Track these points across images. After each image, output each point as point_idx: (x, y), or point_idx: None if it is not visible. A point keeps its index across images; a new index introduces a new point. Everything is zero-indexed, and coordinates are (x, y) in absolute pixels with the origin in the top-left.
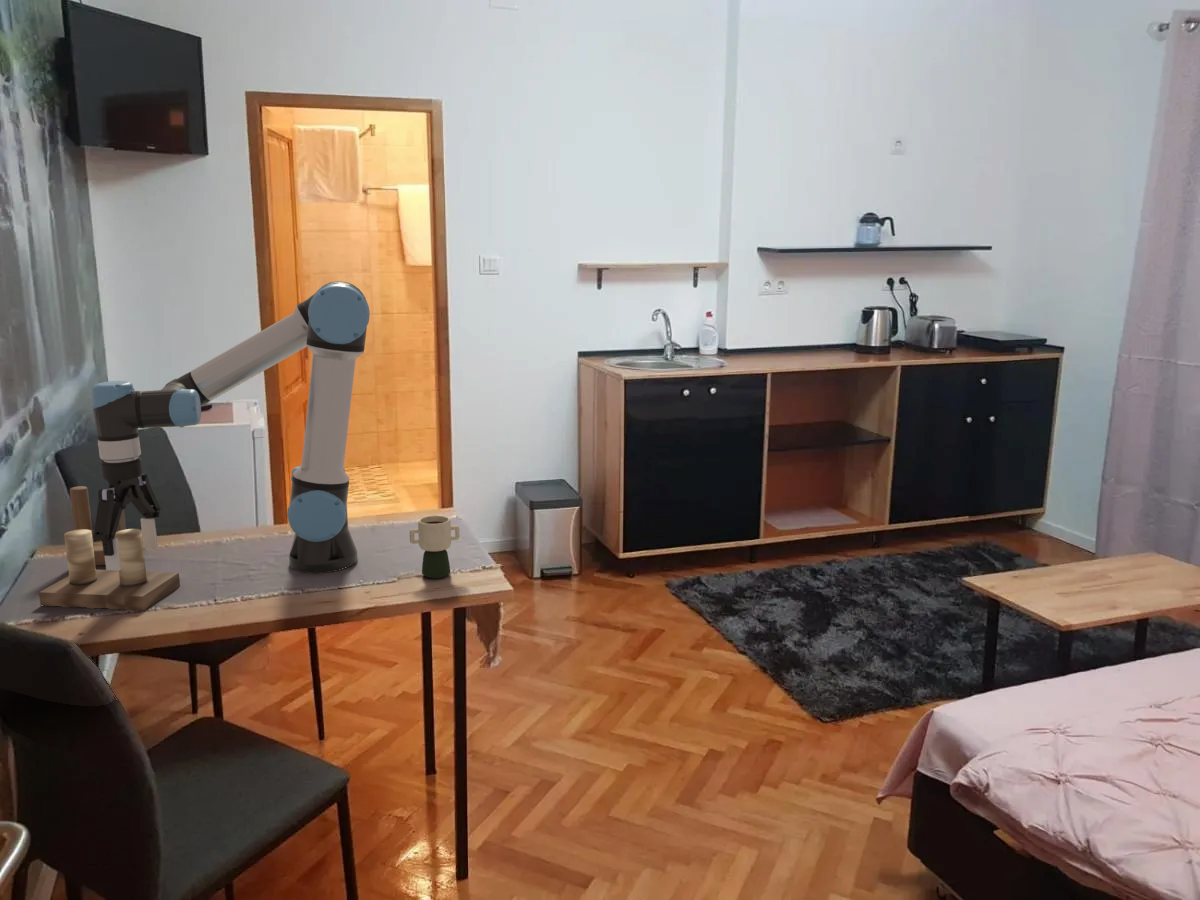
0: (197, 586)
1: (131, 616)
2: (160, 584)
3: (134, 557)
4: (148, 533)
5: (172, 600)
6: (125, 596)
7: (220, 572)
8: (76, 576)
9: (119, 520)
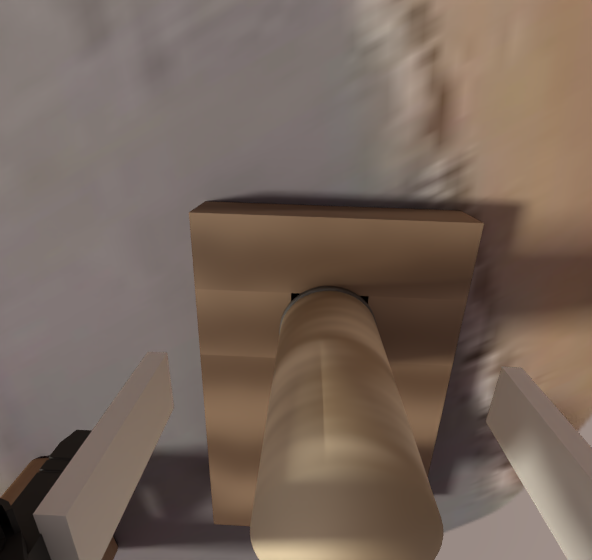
0: (197, 127)
1: (512, 227)
2: (340, 219)
3: (384, 372)
4: (133, 446)
5: (356, 154)
6: (466, 292)
7: (24, 106)
8: None
9: None
